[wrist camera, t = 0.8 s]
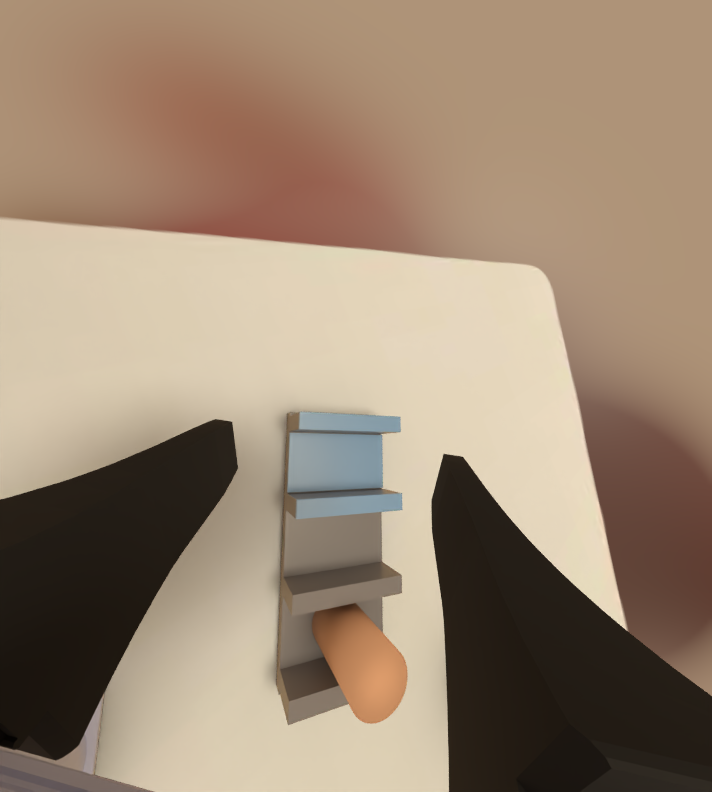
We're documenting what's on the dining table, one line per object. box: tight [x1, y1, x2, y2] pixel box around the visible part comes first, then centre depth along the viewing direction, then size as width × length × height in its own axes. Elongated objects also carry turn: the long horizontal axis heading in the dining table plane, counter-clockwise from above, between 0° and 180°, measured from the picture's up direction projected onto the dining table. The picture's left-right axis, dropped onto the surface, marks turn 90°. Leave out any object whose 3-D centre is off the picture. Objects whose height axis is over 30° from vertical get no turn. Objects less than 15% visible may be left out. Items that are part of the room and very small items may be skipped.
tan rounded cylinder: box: [312, 603, 407, 723], centre depth 20 cm, size 4×4×7 cm
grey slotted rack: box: [276, 412, 402, 725], centre depth 23 cm, size 19×8×4 cm, turn 0°
